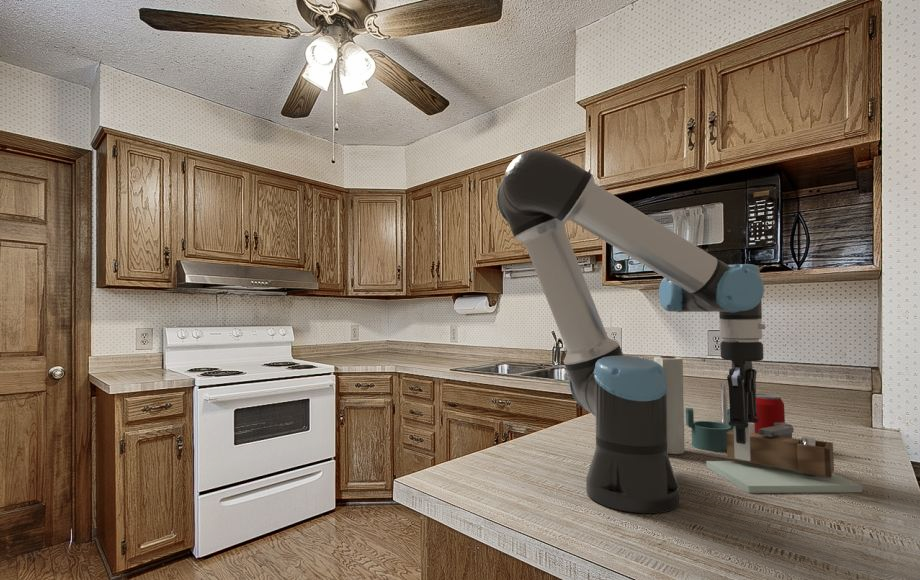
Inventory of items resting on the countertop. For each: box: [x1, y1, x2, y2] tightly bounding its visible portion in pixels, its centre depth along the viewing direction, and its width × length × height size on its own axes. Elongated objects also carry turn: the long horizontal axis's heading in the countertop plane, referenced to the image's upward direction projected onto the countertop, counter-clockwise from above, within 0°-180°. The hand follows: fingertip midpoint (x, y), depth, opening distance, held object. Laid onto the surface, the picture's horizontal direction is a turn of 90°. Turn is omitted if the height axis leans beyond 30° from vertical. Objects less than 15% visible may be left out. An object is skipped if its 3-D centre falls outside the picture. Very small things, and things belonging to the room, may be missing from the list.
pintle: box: [801, 436, 816, 477], centre depth 90 cm, size 2×2×7 cm
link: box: [726, 429, 835, 478], centre depth 93 cm, size 17×6×5 cm, turn 48°
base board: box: [705, 460, 862, 494], centre depth 91 cm, size 20×14×1 cm
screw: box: [715, 381, 729, 424], centre depth 127 cm, size 13×5×5 cm
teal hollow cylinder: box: [685, 407, 734, 453], centre depth 113 cm, size 9×9×9 cm
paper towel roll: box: [653, 355, 686, 455], centre depth 109 cm, size 7×6×21 cm
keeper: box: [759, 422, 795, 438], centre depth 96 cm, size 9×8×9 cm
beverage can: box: [752, 393, 786, 434], centre depth 112 cm, size 7×7×12 cm
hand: (745, 456), depth 97 cm, fingers closed on link, 3 cm apart
